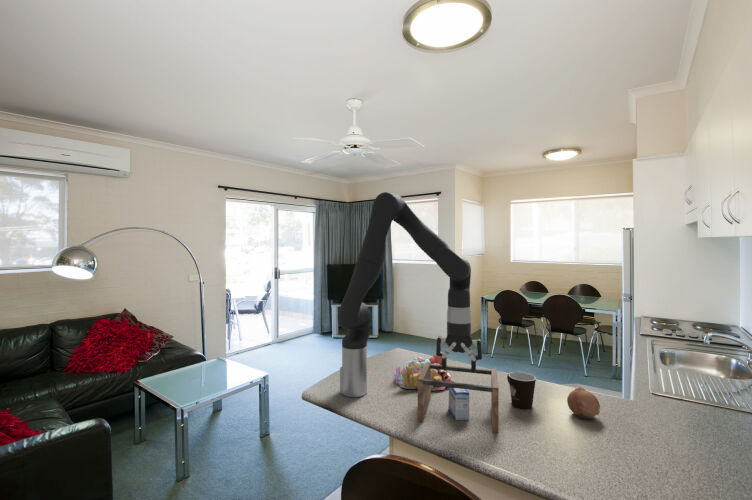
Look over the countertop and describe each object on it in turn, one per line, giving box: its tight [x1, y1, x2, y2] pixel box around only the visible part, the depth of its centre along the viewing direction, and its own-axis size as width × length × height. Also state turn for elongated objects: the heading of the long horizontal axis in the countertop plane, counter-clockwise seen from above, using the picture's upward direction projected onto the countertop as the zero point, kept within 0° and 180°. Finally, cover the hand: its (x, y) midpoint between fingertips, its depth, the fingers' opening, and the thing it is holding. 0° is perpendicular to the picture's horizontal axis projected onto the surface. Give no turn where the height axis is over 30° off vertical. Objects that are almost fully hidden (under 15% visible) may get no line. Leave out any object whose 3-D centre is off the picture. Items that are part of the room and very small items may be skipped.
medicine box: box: [448, 387, 470, 421], centre depth 114 cm, size 8×4×9 cm, turn 5°
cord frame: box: [417, 362, 500, 433], centre depth 114 cm, size 24×17×13 cm
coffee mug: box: [506, 371, 537, 411], centre depth 121 cm, size 12×9×10 cm
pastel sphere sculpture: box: [394, 353, 454, 392], centre depth 143 cm, size 25×24×9 cm
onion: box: [566, 386, 601, 420], centre depth 112 cm, size 9×9×10 cm
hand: (458, 370), depth 114 cm, fingers open, 8 cm apart
